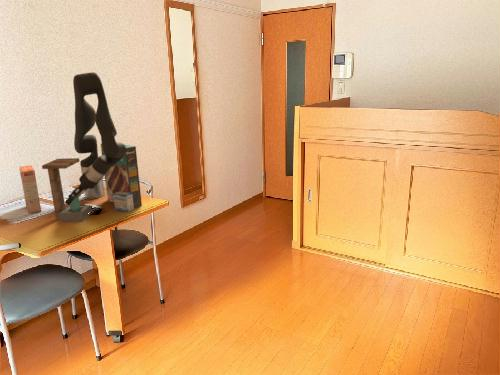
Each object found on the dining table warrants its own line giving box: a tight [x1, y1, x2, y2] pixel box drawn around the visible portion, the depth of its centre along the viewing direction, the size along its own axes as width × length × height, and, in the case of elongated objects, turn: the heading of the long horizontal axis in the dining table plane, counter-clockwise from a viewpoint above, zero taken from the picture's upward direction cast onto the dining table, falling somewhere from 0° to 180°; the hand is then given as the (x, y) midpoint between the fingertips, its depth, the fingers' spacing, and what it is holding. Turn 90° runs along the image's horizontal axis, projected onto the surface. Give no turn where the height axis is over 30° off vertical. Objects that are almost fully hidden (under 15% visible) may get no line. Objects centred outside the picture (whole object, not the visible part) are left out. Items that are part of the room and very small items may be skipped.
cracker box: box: [19, 165, 42, 214], centre depth 192 cm, size 14×6×21 cm, turn 33°
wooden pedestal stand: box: [41, 157, 80, 221], centre depth 178 cm, size 14×10×26 cm
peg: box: [67, 194, 81, 211], centre depth 180 cm, size 4×4×11 cm
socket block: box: [59, 205, 93, 223], centre depth 181 cm, size 10×10×4 cm
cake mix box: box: [100, 143, 143, 209], centre depth 197 cm, size 22×6×30 cm, turn 49°
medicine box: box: [113, 192, 135, 213], centre depth 189 cm, size 8×4×9 cm, turn 70°
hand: (71, 200), depth 179 cm, fingers open, 8 cm apart
